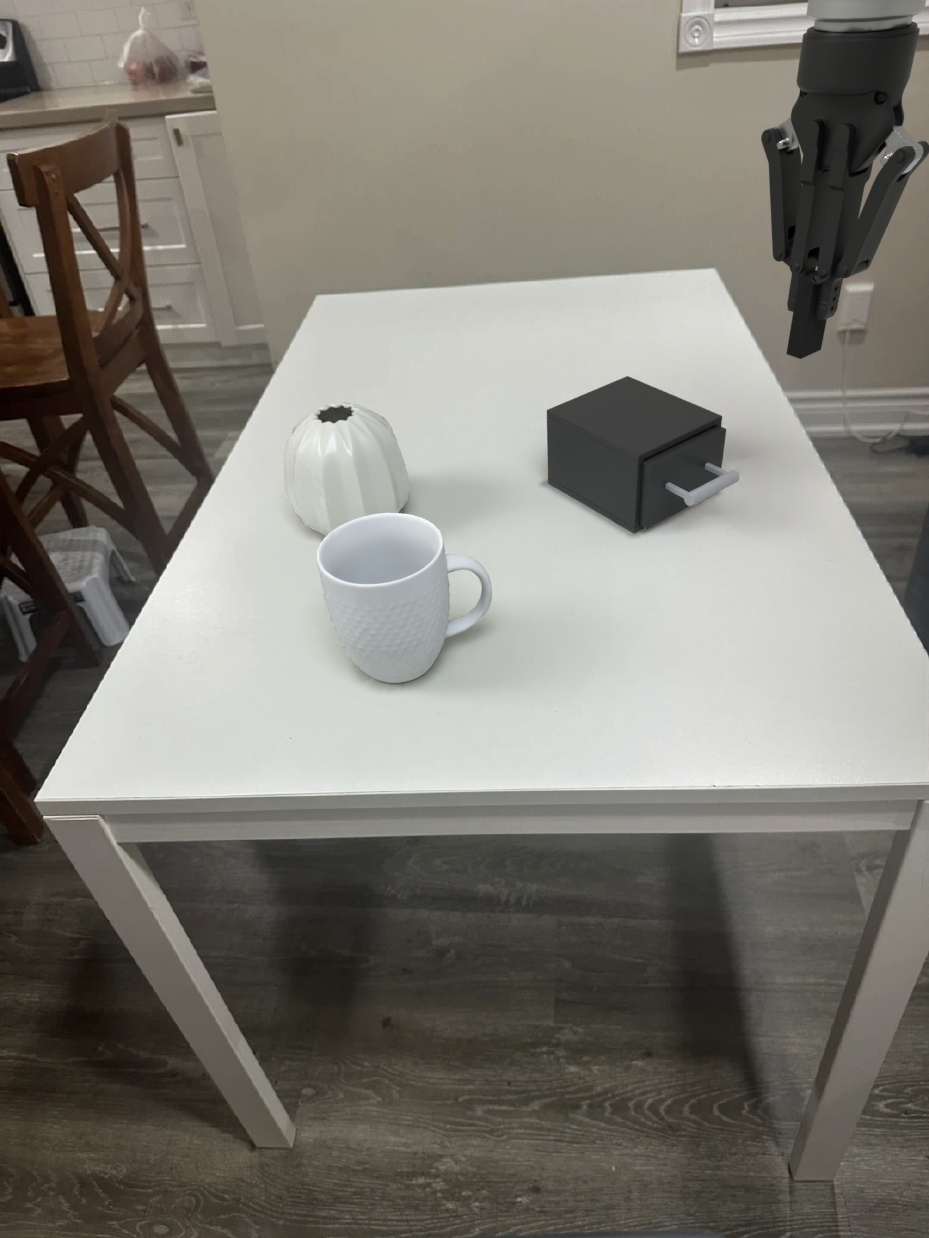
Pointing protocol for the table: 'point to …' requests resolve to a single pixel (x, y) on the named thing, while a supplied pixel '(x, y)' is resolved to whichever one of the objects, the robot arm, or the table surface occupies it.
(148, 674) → the table surface
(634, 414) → the cabinet
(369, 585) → the mug
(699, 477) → the drawer
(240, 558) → the table surface
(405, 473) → the vase
